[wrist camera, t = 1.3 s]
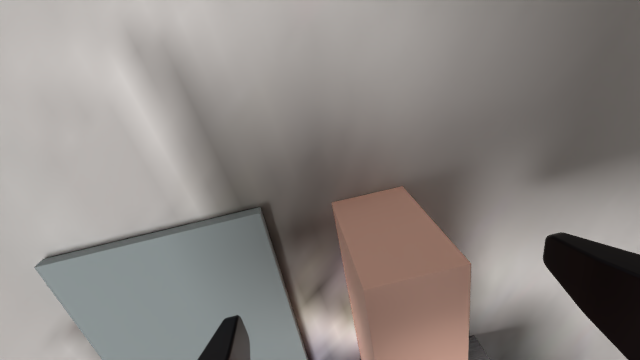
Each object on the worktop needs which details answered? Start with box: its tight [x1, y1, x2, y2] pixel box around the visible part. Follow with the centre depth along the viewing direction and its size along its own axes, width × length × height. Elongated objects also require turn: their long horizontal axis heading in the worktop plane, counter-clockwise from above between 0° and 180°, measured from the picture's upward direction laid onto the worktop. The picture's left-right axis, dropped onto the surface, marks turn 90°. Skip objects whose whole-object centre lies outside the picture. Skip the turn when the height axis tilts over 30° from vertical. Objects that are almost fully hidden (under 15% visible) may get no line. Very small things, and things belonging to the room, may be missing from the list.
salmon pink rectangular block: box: [331, 186, 471, 360], centre depth 11 cm, size 10×2×4 cm, turn 10°
